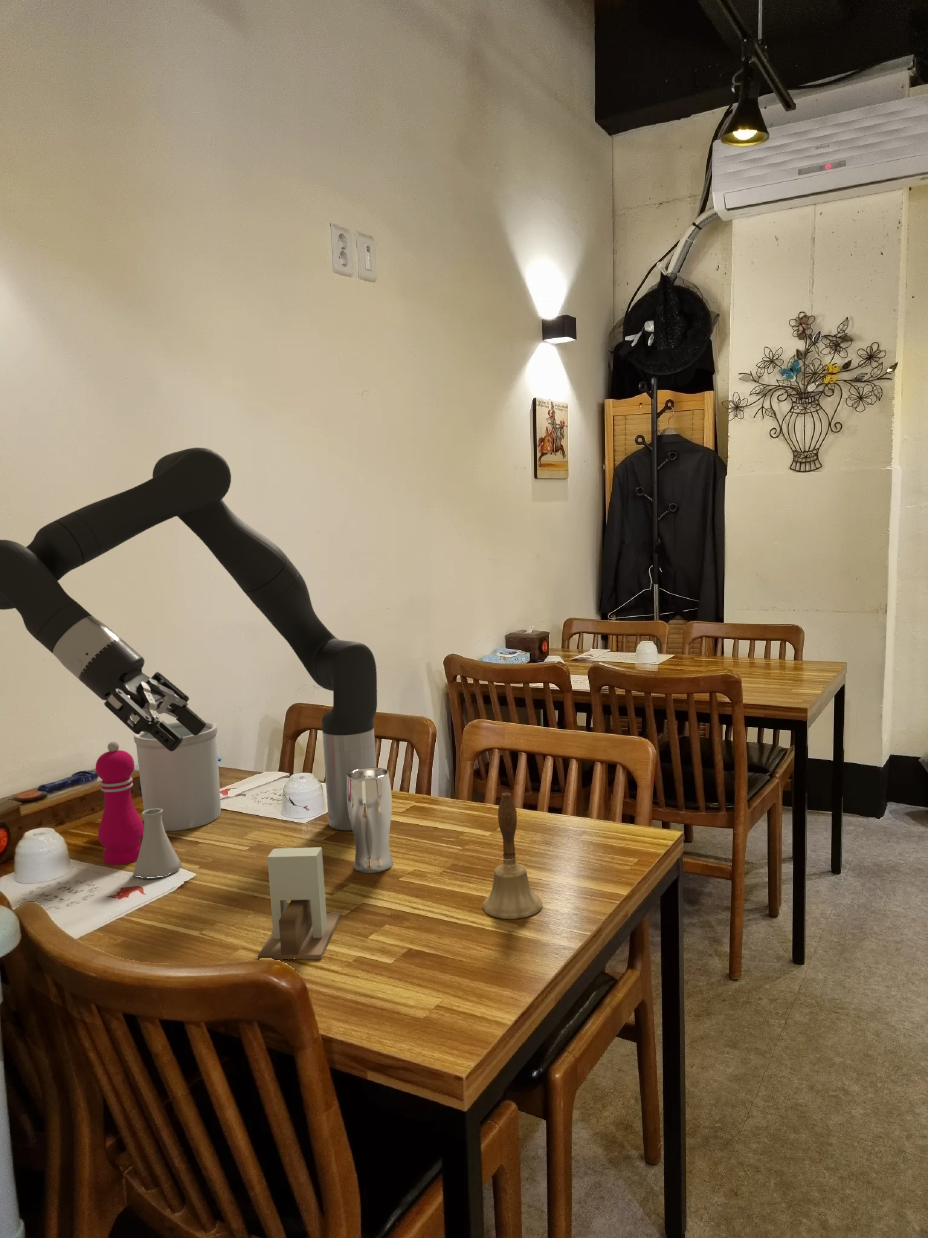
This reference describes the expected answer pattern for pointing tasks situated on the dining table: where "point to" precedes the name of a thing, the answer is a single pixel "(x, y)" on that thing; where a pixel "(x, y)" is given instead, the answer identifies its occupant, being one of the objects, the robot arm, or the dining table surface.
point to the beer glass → (370, 818)
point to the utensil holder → (181, 777)
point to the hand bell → (510, 873)
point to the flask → (155, 848)
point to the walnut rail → (298, 934)
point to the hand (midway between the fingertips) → (190, 738)
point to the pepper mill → (118, 808)
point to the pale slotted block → (297, 884)
